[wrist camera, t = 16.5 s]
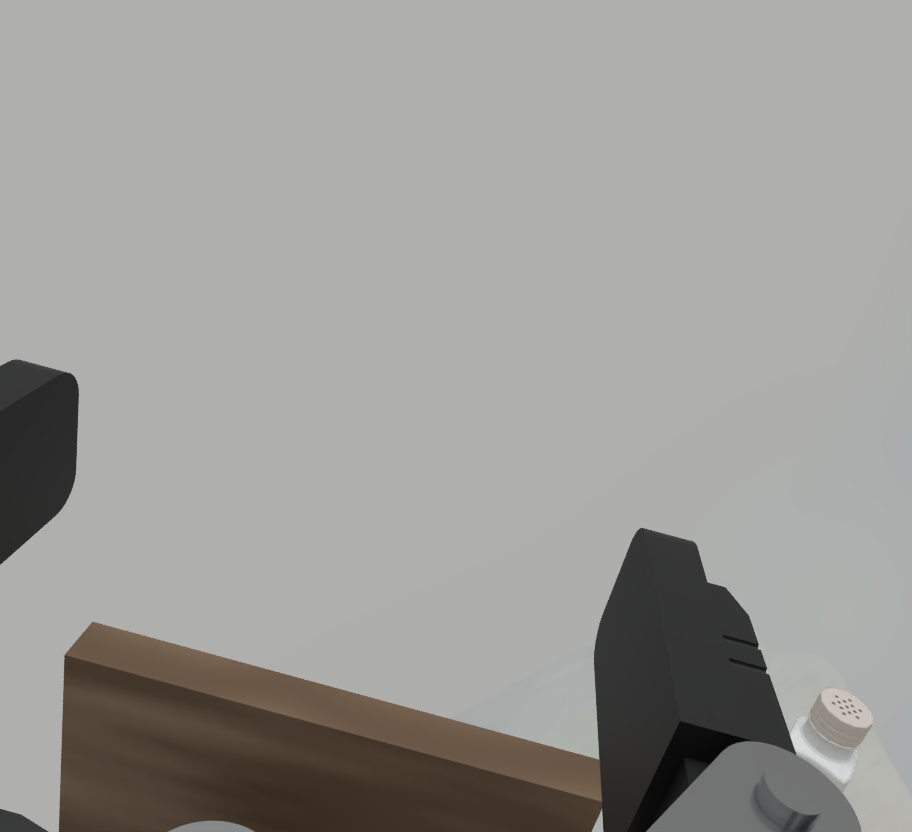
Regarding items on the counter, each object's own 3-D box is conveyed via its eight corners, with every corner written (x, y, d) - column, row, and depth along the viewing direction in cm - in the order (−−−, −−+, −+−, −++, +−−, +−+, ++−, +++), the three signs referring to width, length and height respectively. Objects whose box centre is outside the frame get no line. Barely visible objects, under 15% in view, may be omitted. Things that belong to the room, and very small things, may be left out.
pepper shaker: (765, 775, 55) (822, 673, 51) (821, 813, 54) (886, 710, 50) (747, 809, 52) (806, 703, 48) (806, 850, 50) (873, 744, 46)
